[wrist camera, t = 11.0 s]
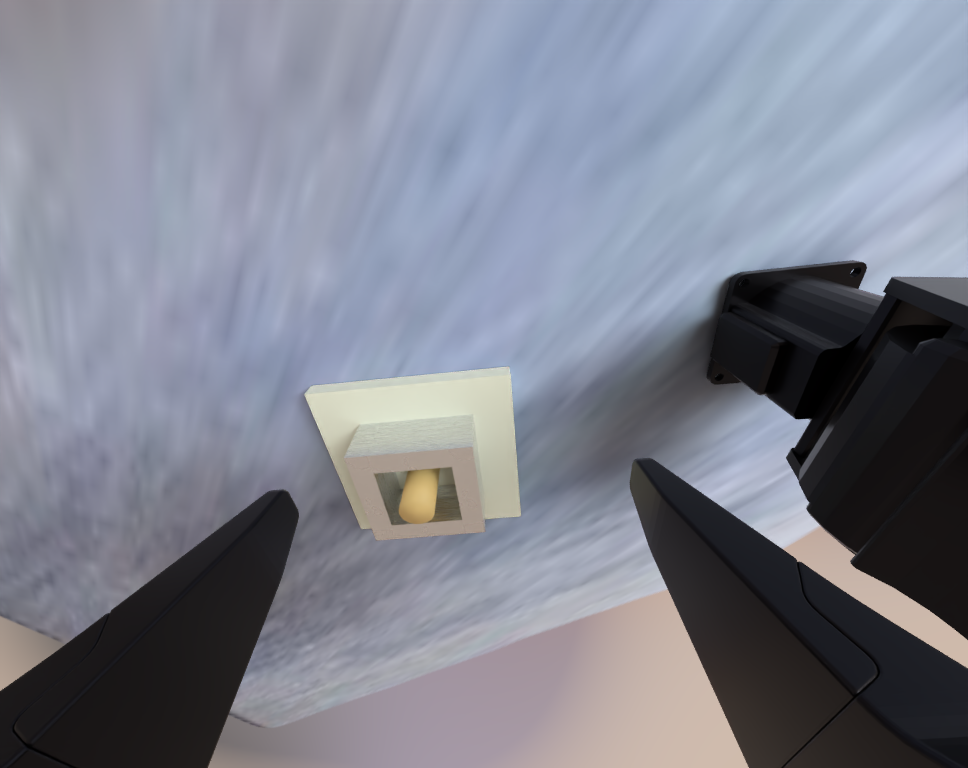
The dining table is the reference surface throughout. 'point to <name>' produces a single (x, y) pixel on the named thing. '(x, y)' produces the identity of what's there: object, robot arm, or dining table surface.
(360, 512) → the keeper
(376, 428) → the link
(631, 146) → the dining table surface
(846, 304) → the robot arm
